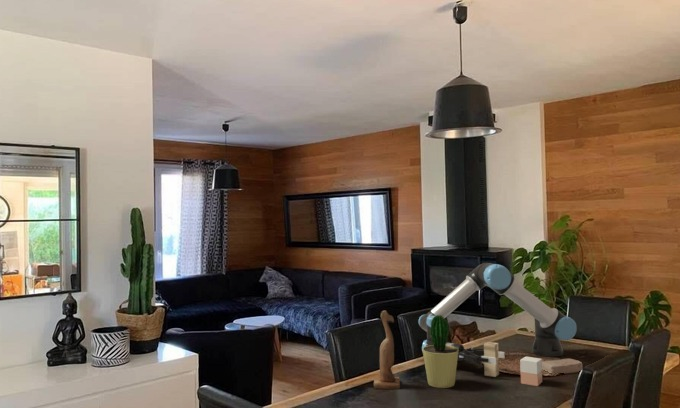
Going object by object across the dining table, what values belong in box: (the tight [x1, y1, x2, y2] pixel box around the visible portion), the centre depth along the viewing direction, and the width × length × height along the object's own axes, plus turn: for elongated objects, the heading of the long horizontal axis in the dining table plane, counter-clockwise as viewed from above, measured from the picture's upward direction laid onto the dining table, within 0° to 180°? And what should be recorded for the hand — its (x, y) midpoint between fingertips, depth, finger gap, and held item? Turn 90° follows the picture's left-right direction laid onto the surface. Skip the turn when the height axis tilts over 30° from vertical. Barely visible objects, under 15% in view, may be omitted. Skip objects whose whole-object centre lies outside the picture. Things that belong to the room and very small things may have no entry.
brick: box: [542, 357, 584, 374], centre depth 238 cm, size 17×8×5 cm, turn 104°
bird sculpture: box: [373, 310, 401, 390], centre depth 222 cm, size 11×12×32 cm
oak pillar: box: [483, 341, 500, 378], centre depth 233 cm, size 5×5×14 cm
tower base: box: [520, 371, 543, 387], centre depth 221 cm, size 7×7×5 cm
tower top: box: [519, 356, 543, 374], centre depth 222 cm, size 7×7×5 cm
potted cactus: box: [422, 315, 459, 389], centre depth 222 cm, size 15×15×30 cm
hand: (500, 358), depth 231 cm, fingers open, 11 cm apart
